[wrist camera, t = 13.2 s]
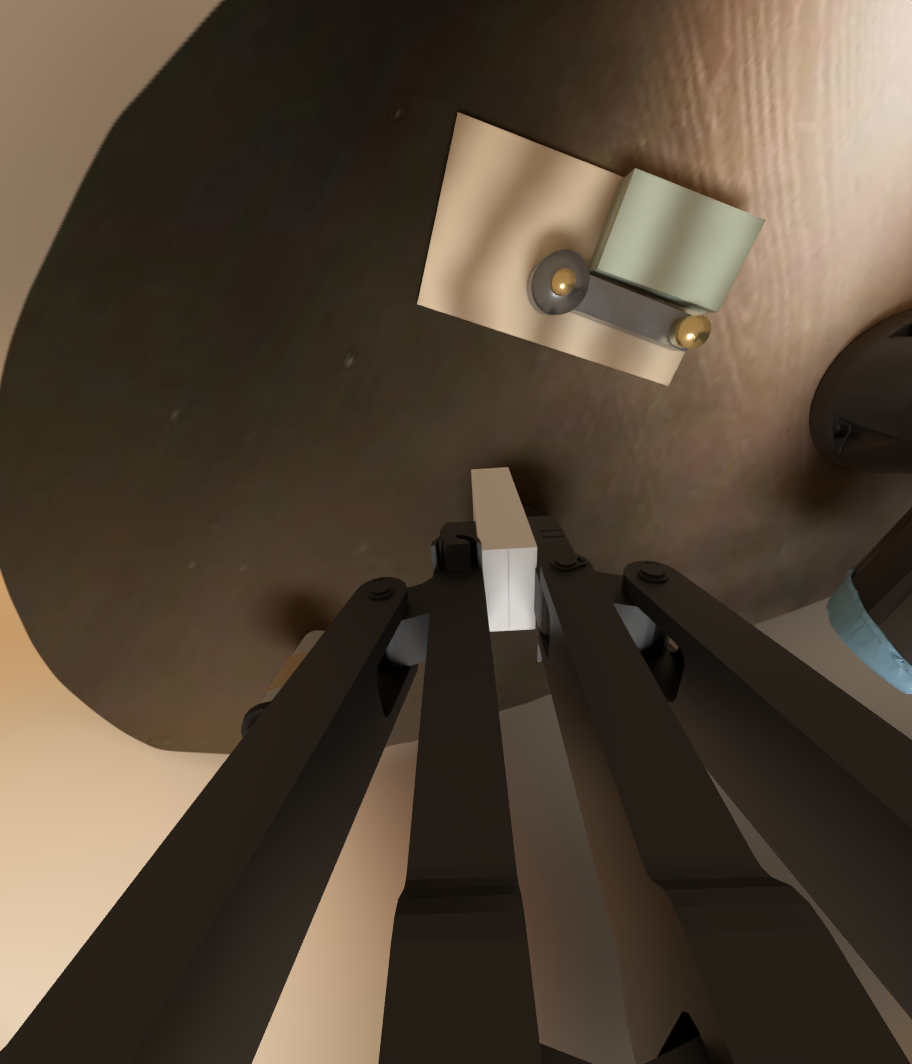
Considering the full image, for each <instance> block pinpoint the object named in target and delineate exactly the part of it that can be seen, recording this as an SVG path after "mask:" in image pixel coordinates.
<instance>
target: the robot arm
mask: <svg viewBox="0 0 912 1064" xmlns="http://www.w3.org/2000/svg"><path fill="white" fill-rule="evenodd" d="M810 431H811V436H812V439H813V442H814V444H815V446H816V447H817V449H818V450H819V452H820V453H821V454H822V455H823V456H824V457H826V458H827V459H829V460H830V461H832V462H834V463H837V464H839V465H842V466H845V467H848V468H851V469H853V470H857V471H862V472H868V473H900V474H912V309H911V310H907V311H904V312H901V313H898V314H896V315H894V316H891V317H889V318H887V319H885V320H883V321H882V322H880V323H878V324H876V325H875V326H873V327H872V328H870V329H869V330H867V331H866V332H865V333H863V334H862V335H861V336H859V337H858V338H857V339H856V340H855V341H854V342H852V343H851V344H850V345H849V346H848V347H847V348H846V349H845V350H844V351H843V352H842V353H841V355H840V356H839V357H838V358H837V359H836V361H835V362H834V363H833V364H832V366H831V367H830V369H829V370H828V371H827V373H826V375H825V376H824V378H823V380H822V382H821V383H820V385H819V388H818V390H817V392H816V395H815V397H814V400H813V404H812V408H811V414H810ZM471 476H472V494H473V513H474V521H469V522H453V523H446V524H445V525H444V527H443V528H442V529H441V530H440V537H438V538H437V539H435V540H434V541H433V542H432V544H431V554H432V563H433V572H434V574H433V577H432V578H431V579H429V580H428V581H426V582H424V583H422V584H419V585H416V586H413V587H409V588H407V587H406V585H405V583H404V582H403V581H401V580H400V579H397V578H393V577H381V578H376V579H373V580H370V581H368V582H366V583H364V584H363V585H362V586H360V587H359V588H358V589H357V590H356V592H355V593H354V594H353V596H352V597H351V598H350V599H349V601H348V602H347V603H346V605H345V606H344V607H343V609H342V610H341V611H340V612H339V614H338V615H337V616H336V618H335V619H334V620H333V622H332V623H331V624H330V625H329V627H328V628H327V629H326V631H325V632H324V633H323V635H322V636H321V637H320V638H319V640H318V641H317V642H316V644H315V645H314V646H313V648H312V649H311V650H310V651H309V653H308V654H307V655H306V657H305V658H304V659H303V661H302V662H301V663H300V664H299V666H298V667H297V668H296V670H295V671H294V672H293V674H292V675H291V676H290V677H289V679H288V680H287V681H286V683H285V684H284V685H283V687H282V688H281V689H280V690H279V692H278V693H277V694H276V696H275V697H274V698H273V700H272V701H271V702H270V703H269V705H268V706H267V707H266V709H265V710H264V711H263V713H262V714H261V715H260V716H259V718H258V719H257V720H256V722H255V723H254V724H253V726H252V727H251V728H250V729H249V731H248V732H247V733H246V735H245V736H244V737H243V739H242V740H241V741H240V742H239V744H238V745H237V746H236V748H235V749H234V750H233V752H232V753H231V754H230V755H229V757H228V758H227V760H226V761H225V762H224V763H223V765H222V766H221V767H220V769H219V770H218V771H217V772H216V774H215V775H214V776H213V778H212V779H211V780H210V781H209V783H208V784H207V785H206V787H205V788H204V789H203V791H202V792H201V793H200V795H199V796H198V797H197V798H196V800H195V801H194V802H193V804H192V805H191V806H190V808H189V809H188V810H187V811H186V813H185V814H184V815H183V817H182V818H181V819H180V820H179V822H178V823H177V824H176V826H175V827H174V828H173V830H172V831H171V832H170V834H169V835H168V836H167V837H166V839H165V840H164V841H163V843H162V844H161V845H160V846H159V848H158V849H157V850H156V852H155V853H154V855H153V856H152V857H151V858H150V860H149V861H148V862H147V863H146V865H145V866H144V867H143V869H142V870H141V871H140V872H139V874H138V875H137V876H136V878H135V879H134V880H133V882H132V883H131V884H130V886H129V887H128V888H127V889H126V891H125V892H124V893H123V895H122V896H121V897H120V899H119V900H118V901H117V902H116V904H115V905H114V906H113V908H112V909H111V910H110V912H109V913H108V914H107V915H106V917H105V918H104V919H103V921H102V922H101V923H100V925H99V926H98V927H97V928H96V930H95V931H94V932H93V934H92V935H91V936H90V938H89V939H88V940H87V942H86V943H85V944H84V945H83V947H82V948H81V949H80V950H79V952H78V953H77V955H76V956H75V957H74V958H73V960H72V961H71V962H70V963H69V965H68V966H67V967H66V969H65V970H64V971H63V973H62V974H61V975H60V976H59V978H58V979H57V980H56V982H55V983H54V984H53V986H52V987H51V988H50V989H49V991H48V992H47V993H46V995H45V996H44V997H43V999H42V1000H41V1001H40V1002H39V1004H38V1005H37V1006H36V1008H35V1009H34V1010H33V1012H32V1013H31V1014H30V1015H29V1017H28V1018H27V1019H26V1021H25V1022H24V1023H23V1025H22V1026H21V1027H20V1028H19V1030H18V1031H17V1032H16V1034H15V1035H14V1036H13V1038H12V1039H11V1040H10V1041H9V1043H8V1044H7V1045H6V1046H5V1047H4V1048H3V1049H2V1050H1V1051H0V1064H252V1061H253V1059H254V1056H255V1054H256V1052H257V1049H258V1047H259V1045H260V1042H261V1040H262V1037H263V1035H264V1033H265V1030H266V1028H267V1026H268V1023H269V1021H270V1019H271V1016H272V1014H273V1011H274V1009H275V1007H276V1004H277V1002H278V1000H279V997H280V995H281V993H282V990H283V988H284V985H285V983H286V981H287V978H288V976H289V974H290V971H291V969H292V966H293V964H294V962H295V959H296V957H297V955H298V952H299V950H300V947H301V945H302V943H303V940H304V938H305V936H306V933H307V931H308V928H309V926H310V924H311V921H312V919H313V916H314V914H315V912H316V909H317V907H318V904H319V902H320V900H321V898H322V895H323V892H324V890H325V888H326V886H327V883H328V881H329V879H330V876H331V874H332V872H333V869H334V867H335V864H336V862H337V860H338V857H339V855H340V853H341V850H342V848H343V846H344V843H345V841H346V838H347V836H348V833H349V831H350V829H351V826H352V824H353V822H354V819H355V817H356V814H357V812H358V810H359V807H360V805H361V803H362V800H363V798H364V796H365V793H366V791H367V789H368V786H369V784H370V781H371V779H372V777H373V774H374V772H375V770H376V767H377V765H378V763H379V760H380V758H381V755H382V753H383V751H384V748H385V746H386V744H387V741H388V739H389V736H390V734H391V732H392V729H393V727H394V725H395V722H396V720H397V717H398V715H399V713H400V710H401V708H402V706H403V703H404V701H405V699H406V696H407V694H408V691H409V689H410V687H411V684H412V682H413V680H414V677H415V675H416V672H417V669H418V663H421V662H424V661H426V664H425V675H424V686H423V698H422V709H421V720H420V731H419V743H418V754H417V765H416V776H415V788H414V799H413V811H412V822H411V833H410V844H409V855H408V867H407V876H406V882H405V887H404V890H403V892H402V894H401V895H400V897H399V899H398V903H397V908H396V912H395V917H394V925H393V932H392V940H391V949H390V958H389V968H388V978H387V987H386V997H385V1006H384V1016H383V1026H382V1035H381V1045H380V1055H379V1064H592V1063H589V1062H587V1061H584V1060H582V1059H578V1058H576V1057H574V1056H571V1055H568V1054H566V1053H564V1052H561V1051H558V1050H556V1049H553V1048H551V1047H548V1046H545V1045H543V1044H540V1043H539V1034H538V1026H537V1017H536V1009H535V1000H534V992H533V983H532V975H531V967H530V958H529V950H528V941H527V933H526V925H525V917H524V909H523V903H522V897H521V892H520V889H519V885H518V878H517V870H516V863H515V853H514V845H513V835H512V826H511V818H510V809H509V800H508V791H507V782H506V774H505V764H504V755H503V746H502V737H501V728H500V720H499V710H498V701H497V693H496V684H495V675H494V666H493V657H492V648H491V639H490V631H509V630H528V629H535V616H536V620H537V623H538V656H537V662H541V659H543V663H544V667H545V671H546V675H547V679H548V683H549V687H550V691H551V695H552V699H553V703H554V706H555V711H556V714H557V719H558V723H559V726H560V730H561V734H562V738H563V742H564V746H565V750H566V754H567V758H568V762H569V766H570V770H571V774H572V778H573V782H574V786H575V789H576V793H577V797H578V801H579V805H580V809H581V813H582V817H583V821H584V825H585V829H586V833H587V837H588V841H589V845H590V849H591V852H592V857H593V861H594V865H595V868H596V872H597V876H598V880H599V884H600V888H601V892H602V896H603V900H604V904H605V908H606V912H607V916H608V919H609V924H610V927H611V932H612V936H613V939H614V943H615V947H616V952H617V956H618V960H619V966H620V972H621V979H622V989H623V1001H624V1008H625V1014H626V1020H627V1025H628V1030H629V1035H630V1039H631V1044H632V1049H633V1053H634V1057H635V1061H636V1064H910V1062H909V1061H908V1059H907V1057H906V1056H905V1054H904V1053H903V1051H902V1049H901V1048H900V1046H899V1044H898V1043H897V1041H896V1039H895V1038H894V1036H893V1035H892V1033H891V1031H890V1030H889V1028H888V1026H887V1025H886V1024H885V1022H884V1020H883V1018H882V1017H881V1015H880V1013H879V1012H878V1010H877V1008H876V1007H875V1005H874V1004H873V1002H872V1000H871V999H870V997H869V995H868V994H867V992H866V991H865V989H864V987H863V986H862V984H861V982H860V981H859V979H858V978H857V976H856V975H855V973H854V971H853V969H852V968H851V966H850V964H849V963H848V961H847V960H846V958H845V956H844V955H843V953H842V951H841V950H840V948H839V947H838V945H837V943H836V942H835V940H834V938H833V937H832V935H831V934H830V932H829V930H828V929H827V927H826V926H825V924H824V923H823V922H822V920H821V919H820V917H818V915H817V913H816V912H815V910H814V909H813V908H812V906H811V905H810V903H809V902H808V901H807V900H806V899H804V897H803V896H802V895H800V894H799V893H798V892H797V891H796V890H795V889H794V888H793V887H792V886H790V885H788V884H786V883H784V882H781V881H779V880H777V879H775V878H772V877H771V876H770V875H769V874H768V873H767V872H766V871H765V870H764V869H763V868H762V867H761V866H760V864H759V863H758V861H757V860H756V858H755V856H754V855H753V853H752V851H751V850H750V848H749V846H748V844H747V842H746V841H745V839H744V837H743V835H742V833H741V832H740V830H739V828H738V827H737V825H736V823H735V821H734V819H733V817H732V816H731V814H730V812H729V810H728V808H727V807H726V805H725V803H724V802H723V799H722V798H721V796H720V794H719V792H718V790H717V789H716V787H715V785H714V783H713V782H712V780H711V778H710V776H709V774H708V773H707V771H708V772H709V773H710V774H711V776H713V778H714V779H715V780H716V782H717V783H718V784H719V785H720V786H721V788H722V789H723V790H724V791H725V792H726V794H727V795H728V796H729V797H730V799H731V800H732V801H733V802H734V804H735V805H736V806H737V807H738V808H739V809H740V811H741V812H742V813H743V814H744V816H745V817H746V818H747V819H748V820H749V822H750V823H751V824H752V825H753V827H754V828H755V829H756V830H757V831H758V833H759V834H760V835H761V836H762V838H763V839H764V840H765V841H766V843H767V844H768V845H769V846H770V847H771V849H772V850H773V851H774V852H775V853H776V855H777V856H778V857H779V858H780V860H781V861H782V862H783V863H784V864H785V865H786V867H787V868H788V869H789V871H790V872H791V873H792V874H793V875H794V876H795V878H796V879H797V880H798V881H799V883H800V884H801V885H802V886H803V888H804V889H805V890H806V891H807V892H808V894H809V895H810V896H811V897H812V899H813V900H814V901H815V902H816V903H817V905H818V906H819V907H820V908H821V909H822V911H823V912H824V913H825V914H826V916H827V917H828V918H829V919H830V920H831V922H832V923H833V924H834V925H835V926H836V928H837V929H838V930H839V931H840V932H841V934H842V935H843V936H844V937H845V939H846V940H847V941H848V942H849V944H850V945H851V946H852V947H853V948H854V950H855V951H856V952H857V953H858V955H859V956H860V957H861V958H862V959H863V960H864V962H865V963H866V964H867V965H868V967H869V968H870V969H871V970H872V972H873V973H874V974H875V975H876V976H877V978H878V979H879V980H880V981H881V983H882V984H883V985H884V986H885V987H886V989H887V990H888V991H889V992H890V993H891V995H892V996H893V997H894V998H895V1000H896V1001H897V1002H898V1003H899V1004H900V1006H901V1007H902V1008H903V1009H904V1010H905V1011H906V1013H907V1014H908V1015H909V1017H910V1018H911V1019H912V740H911V739H909V738H908V737H907V736H905V735H904V734H903V733H901V732H900V731H898V730H897V729H896V728H894V727H893V726H891V725H890V724H889V723H887V722H886V721H885V720H883V719H882V718H880V717H879V716H878V715H876V714H875V713H873V712H872V711H871V710H869V709H868V708H866V707H865V706H864V705H862V704H861V703H860V702H858V701H857V700H855V699H854V698H853V697H851V696H850V695H848V694H847V693H846V692H844V691H843V690H842V689H840V688H839V687H837V686H836V685H834V684H833V683H832V682H830V681H829V680H827V679H826V678H825V677H824V676H822V675H821V674H819V673H818V672H817V671H815V670H814V669H812V668H811V667H810V666H808V665H807V664H805V663H804V662H803V661H801V660H800V659H798V658H797V657H796V656H794V655H793V654H792V653H790V652H789V651H787V650H786V649H785V648H783V647H782V646H780V645H779V644H778V643H776V642H775V641H773V640H772V639H771V638H769V637H768V636H767V635H765V634H764V633H762V632H761V631H760V630H758V629H757V628H756V627H754V626H753V625H751V624H750V623H749V622H747V621H746V620H744V619H743V618H742V617H740V616H739V615H738V614H736V613H735V612H733V611H732V610H731V609H729V608H728V607H726V606H725V605H724V604H722V603H721V602H719V601H718V600H717V599H715V598H714V597H713V596H711V595H710V594H708V593H707V592H706V591H704V590H703V589H701V588H700V587H699V586H697V585H696V584H695V583H693V582H692V581H690V580H689V579H688V578H686V577H685V576H683V575H682V574H681V573H679V572H678V571H676V570H675V569H673V568H671V567H669V566H667V565H665V564H661V563H658V562H655V561H637V562H633V563H630V564H628V565H627V566H626V567H625V568H624V574H623V576H622V575H614V574H607V573H601V572H597V571H595V570H594V569H593V567H592V565H591V563H590V562H589V561H588V560H587V559H586V558H584V557H582V556H580V555H578V554H575V552H574V551H573V549H572V547H571V545H570V543H569V541H568V539H567V537H566V535H565V533H564V531H562V528H561V526H560V524H559V522H558V521H557V520H555V519H554V518H552V517H550V516H533V517H526V515H525V512H524V509H523V506H522V504H521V501H520V498H519V495H518V493H517V490H516V487H515V484H514V482H513V479H512V476H511V474H510V471H509V468H508V467H504V468H489V469H473V470H471ZM827 613H828V617H829V620H830V623H831V625H832V627H833V629H834V630H835V632H836V633H837V635H838V636H839V637H840V638H841V639H842V641H843V642H844V643H845V644H846V645H847V646H848V647H849V648H850V650H852V651H853V652H854V653H855V654H856V655H857V656H858V657H859V658H860V659H861V660H862V661H863V662H864V663H866V664H867V665H868V666H869V667H870V668H871V669H873V670H874V671H875V672H876V673H878V674H879V675H880V676H881V677H882V678H884V679H885V680H886V681H888V682H889V683H890V684H892V685H893V686H894V687H896V688H897V689H899V690H900V691H902V692H903V693H906V694H911V695H912V507H911V509H910V510H909V511H908V512H907V513H906V514H905V515H904V516H903V517H902V518H901V519H900V520H899V521H898V522H897V523H896V524H895V525H894V527H893V528H892V529H891V530H890V531H889V532H888V533H887V534H886V535H885V536H884V537H883V538H882V539H881V540H880V541H879V542H878V543H877V545H876V546H875V547H874V548H873V549H872V550H871V551H870V552H869V553H868V554H867V555H866V556H865V557H864V558H863V559H862V560H861V561H860V563H859V564H858V565H856V566H854V567H852V568H851V569H850V570H849V571H848V573H847V578H846V579H845V581H844V582H843V583H842V584H841V585H840V587H839V588H838V589H837V590H836V591H835V593H834V594H833V595H832V596H831V598H830V599H829V601H828V604H827ZM669 638H671V639H672V640H673V641H674V642H675V643H676V644H677V645H678V647H679V648H678V650H677V649H675V648H674V647H673V646H672V645H671V644H670V643H669ZM705 768H706V769H707V771H706V769H705Z"/></svg>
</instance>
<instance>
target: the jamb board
mask: <svg viewBox="0 0 912 1064" xmlns="http://www.w3.org/2000/svg"><path fill="white" fill-rule="evenodd" d="M765 221H766V220H765V219H762V218H760V217H757V216H755V215H752V214H750V213H747V212H745V211H742V210H740V209H737V208H735V207H732V206H730V205H727V204H725V203H722V202H719V201H717V200H714V199H712V198H709V197H707V196H704V195H702V194H699V193H697V192H694V191H692V190H689V189H687V188H684V187H682V186H679V185H677V184H674V183H672V182H669V181H667V180H664V179H662V178H659V177H657V176H654V175H652V174H649V173H647V172H644V171H642V170H639V169H637V168H634V169H633V170H632V171H631V172H630V173H629V174H628V175H627V176H625V177H622V176H619V175H617V174H614V173H612V172H609V171H607V170H604V169H601V168H599V167H596V166H594V165H591V164H589V163H586V162H584V161H581V160H579V159H576V158H573V157H571V156H568V155H566V154H563V153H561V152H558V151H556V150H553V149H551V148H548V147H545V146H543V145H540V144H538V143H535V142H533V141H530V140H528V139H525V138H523V137H520V136H518V135H515V134H512V133H510V132H507V131H505V130H502V129H500V128H497V127H495V126H492V125H490V124H487V123H484V122H482V121H479V120H477V119H474V118H472V117H469V116H467V115H464V114H462V113H459V112H458V114H457V119H456V123H455V128H454V133H453V138H452V142H451V147H450V152H449V157H448V161H447V166H446V171H445V175H444V180H443V185H442V190H441V194H440V199H439V204H438V209H437V213H436V218H435V223H434V228H433V232H432V237H431V242H430V246H429V251H428V256H427V261H426V265H425V270H424V275H423V280H422V284H421V289H420V294H419V299H418V303H417V304H418V305H421V306H424V307H427V308H430V309H434V310H437V311H440V312H443V313H446V314H449V315H452V316H455V317H458V318H461V319H464V320H467V321H470V322H473V323H476V324H479V325H483V326H486V327H489V328H492V329H495V330H498V331H501V332H504V333H507V334H510V335H513V336H516V337H519V338H522V339H525V340H528V341H532V342H535V343H538V344H541V345H544V346H547V347H550V348H553V349H556V350H559V351H562V352H565V353H568V354H571V355H574V356H578V357H581V358H584V359H587V360H590V361H593V362H596V363H599V364H602V365H605V366H608V367H611V368H614V369H617V370H620V371H623V372H627V373H630V374H633V375H636V376H639V377H642V378H645V379H648V380H651V381H654V382H657V383H660V384H663V385H667V386H668V385H669V383H670V381H671V379H672V377H673V375H674V373H675V371H676V369H677V367H678V365H679V363H680V361H681V359H682V357H683V355H684V353H685V352H682V351H673V350H669V349H666V348H663V347H661V346H658V345H655V344H653V343H650V342H647V341H645V340H642V339H639V338H637V337H634V336H632V335H629V334H626V333H624V332H621V331H618V330H616V329H613V328H610V327H608V326H605V325H602V324H600V323H597V322H594V321H592V320H589V319H587V318H584V317H581V316H579V315H576V314H573V313H571V312H568V313H565V314H560V315H551V316H548V315H543V314H540V313H539V312H537V311H536V310H535V309H534V308H533V307H532V306H531V304H530V302H529V300H528V296H527V282H528V278H529V276H530V274H531V272H532V270H533V269H534V267H535V266H536V265H537V264H538V263H539V262H540V261H542V260H543V259H544V258H545V257H547V256H548V255H550V254H551V253H553V252H555V251H558V250H562V249H568V250H572V251H575V252H577V253H578V254H580V255H581V256H582V257H583V259H584V260H585V262H586V264H587V266H588V269H589V275H592V276H594V277H597V278H599V279H602V280H604V281H607V282H609V283H612V284H614V285H617V286H620V287H622V288H625V289H627V290H630V291H632V292H635V293H637V294H640V295H642V296H645V297H647V298H650V299H652V300H655V301H658V302H660V303H663V304H665V305H668V306H670V307H673V308H675V309H678V310H680V311H683V312H685V313H688V314H690V315H693V316H697V315H701V316H704V314H705V313H711V312H719V310H720V308H721V306H722V304H723V302H724V300H725V298H726V296H727V294H728V292H729V290H730V288H731V287H732V285H733V283H734V281H735V279H736V277H737V275H738V273H739V271H740V269H741V267H742V265H743V263H744V261H745V259H746V257H747V255H748V254H749V252H750V250H751V248H752V246H753V244H754V242H755V240H756V238H757V236H758V234H759V232H760V230H761V228H762V226H763V224H764V222H765Z"/></svg>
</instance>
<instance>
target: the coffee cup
mask: <svg viewBox="0 0 912 1064" xmlns="http://www.w3.org/2000/svg"><path fill="white" fill-rule="evenodd" d="M324 632H325V631H324V630H316V631H312V632H309V633H308V634H306V635H305V637H304V638H303V640H302V641H301V643H300V644H299V646H298V647H297V649H296V650H295V652H294V653H293V655H292V656H291V657H290V658H289V659H288V660H287V661H286V663H285V664H284V666H283V667H282V669H281V670H280V672H279V673H278V675H277V676H276V678H275V679H274V681H273V682H272V684H271V685H270V687H269V688H268V690H267V691H266V693H265V694H264V696H263V700H262V701H261V703H260V704H258V705H256V706H254V707H253V708H251V709H250V710H249V711H248V712H247V713H246V715H245V717H244V720H243V723H242V727H241V733H242V737H244V736H245V735H246V733H247V732H248V731H249V729H250V728H251V727H252V726H253V724H254V723H255V722H256V720H257V719H258V718H259V716H260V715H261V714H262V713H263V711H264V710H265V709H266V707H267V706H268V705H269V703H270V702H271V701H272V700H273V698H274V697H275V696H276V694H277V693H278V692H279V690H280V689H281V688H282V687H283V685H284V684H285V683H286V681H287V680H288V679H289V677H290V676H291V675H292V674H293V672H294V671H295V670H296V668H297V667H298V666H299V664H300V663H301V662H302V661H303V659H304V658H305V657H306V655H307V654H308V653H309V651H310V650H311V649H312V648H313V646H314V645H315V644H316V642H317V641H318V640H319V638H320V637H321V636H322V635H323V633H324ZM242 739H243V738H242Z"/></svg>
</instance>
